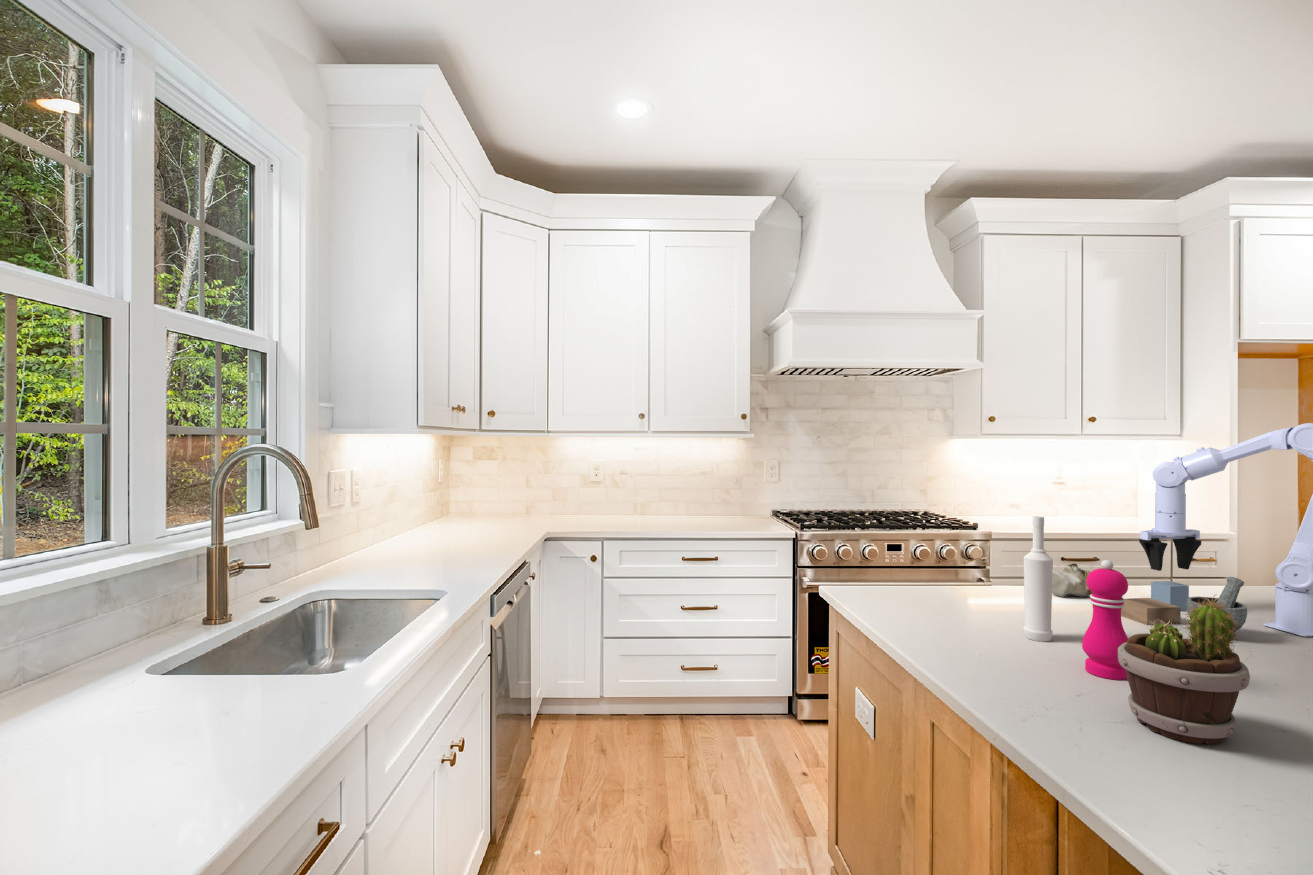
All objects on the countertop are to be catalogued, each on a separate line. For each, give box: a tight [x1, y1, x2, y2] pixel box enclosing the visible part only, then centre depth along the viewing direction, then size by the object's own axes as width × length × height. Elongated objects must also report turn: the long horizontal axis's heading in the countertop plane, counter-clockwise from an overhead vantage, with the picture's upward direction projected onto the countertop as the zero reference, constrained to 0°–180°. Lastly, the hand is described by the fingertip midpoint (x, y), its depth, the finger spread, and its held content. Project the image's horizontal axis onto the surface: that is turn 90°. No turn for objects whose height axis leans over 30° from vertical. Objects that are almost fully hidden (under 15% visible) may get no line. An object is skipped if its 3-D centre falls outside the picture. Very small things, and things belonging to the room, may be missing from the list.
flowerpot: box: [1118, 594, 1251, 745], centre depth 91 cm, size 14×15×20 cm
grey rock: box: [1052, 563, 1092, 598], centre depth 165 cm, size 11×9×15 cm
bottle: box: [1022, 515, 1054, 643], centre depth 131 cm, size 5×5×25 cm
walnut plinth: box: [1121, 597, 1182, 626], centre depth 144 cm, size 8×8×4 cm
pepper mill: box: [1081, 559, 1129, 681], centre depth 112 cm, size 7×7×20 cm
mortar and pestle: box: [1186, 576, 1248, 641], centre depth 133 cm, size 11×9×12 cm
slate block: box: [1150, 580, 1190, 612], centre depth 153 cm, size 5×5×6 cm
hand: (1169, 569), depth 152 cm, fingers open, 7 cm apart
